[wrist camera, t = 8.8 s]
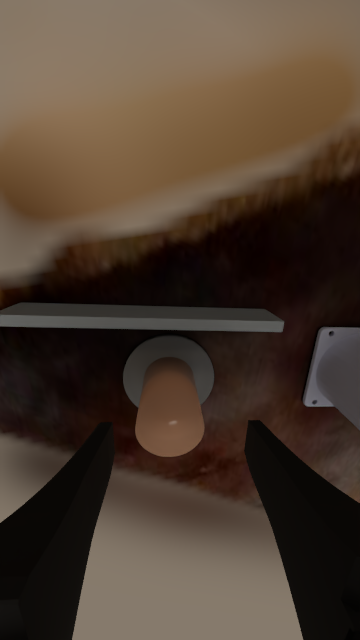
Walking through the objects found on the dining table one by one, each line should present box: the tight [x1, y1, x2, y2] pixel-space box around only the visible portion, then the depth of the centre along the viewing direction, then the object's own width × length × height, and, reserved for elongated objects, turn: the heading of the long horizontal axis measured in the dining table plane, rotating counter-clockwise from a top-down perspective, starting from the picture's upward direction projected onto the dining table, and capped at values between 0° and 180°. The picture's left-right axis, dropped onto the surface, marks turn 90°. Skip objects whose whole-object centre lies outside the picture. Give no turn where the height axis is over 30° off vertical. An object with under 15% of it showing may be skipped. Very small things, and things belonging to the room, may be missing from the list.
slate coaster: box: [123, 334, 214, 408], centre depth 21 cm, size 8×8×1 cm
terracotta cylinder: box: [135, 357, 204, 457], centre depth 18 cm, size 4×4×6 cm
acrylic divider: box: [0, 303, 284, 332], centre depth 18 cm, size 20×1×4 cm, turn 87°
